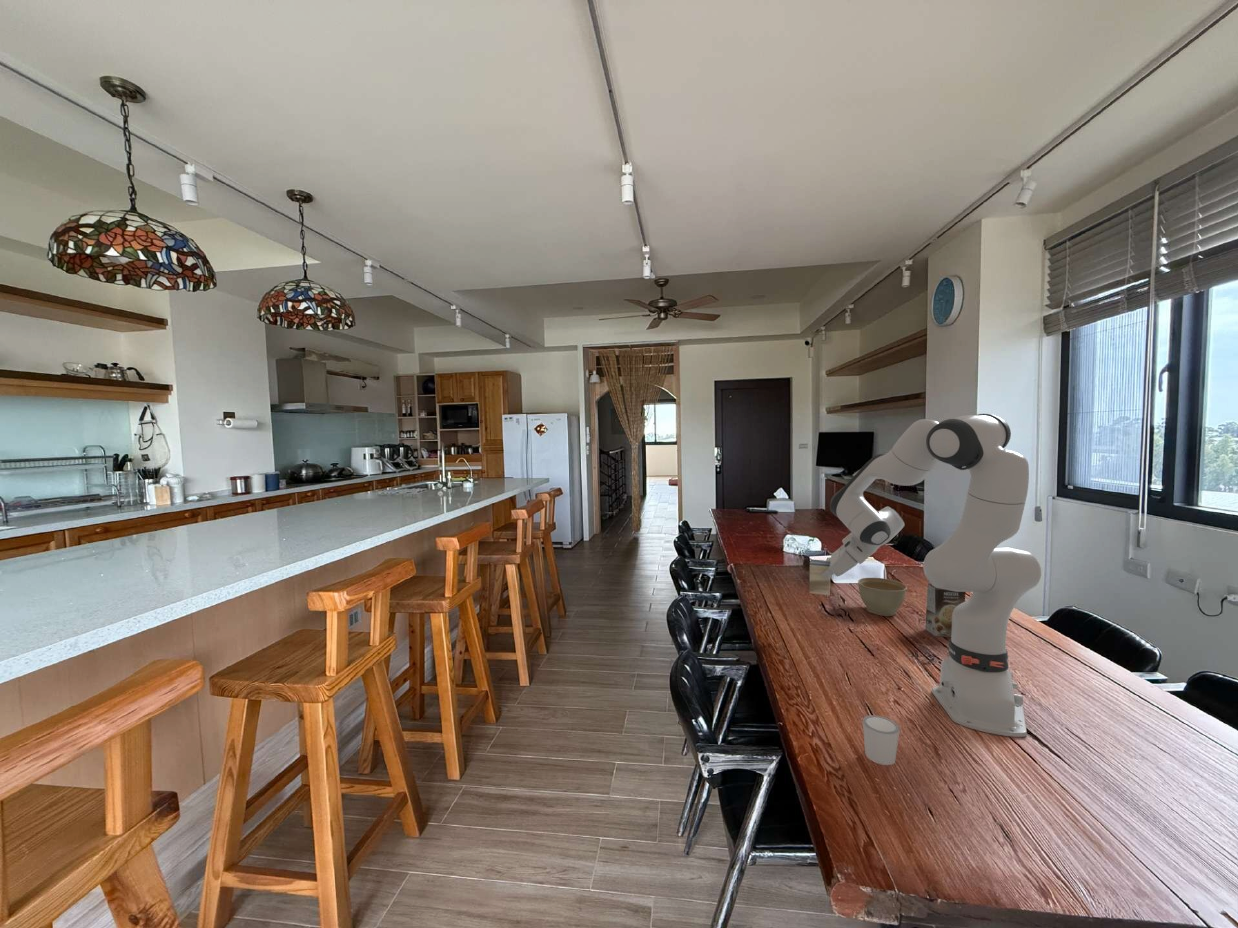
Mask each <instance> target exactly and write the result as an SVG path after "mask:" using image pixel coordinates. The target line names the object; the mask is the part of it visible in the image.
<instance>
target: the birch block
mask: <svg viewBox="0 0 1238 928" xmlns="http://www.w3.org/2000/svg"><path fill="white" fill-rule="evenodd" d="M830 561H831V560H824V559H823V560H822V559H810V561H809V591H808V592H809V594H816V595H824V596H830V593H831V576H828V577H827V578H826V579H823V578H822V577H821V574H822V573H823V572H824V571H826V570H827V569H828V568H829V567H830Z"/></svg>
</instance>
